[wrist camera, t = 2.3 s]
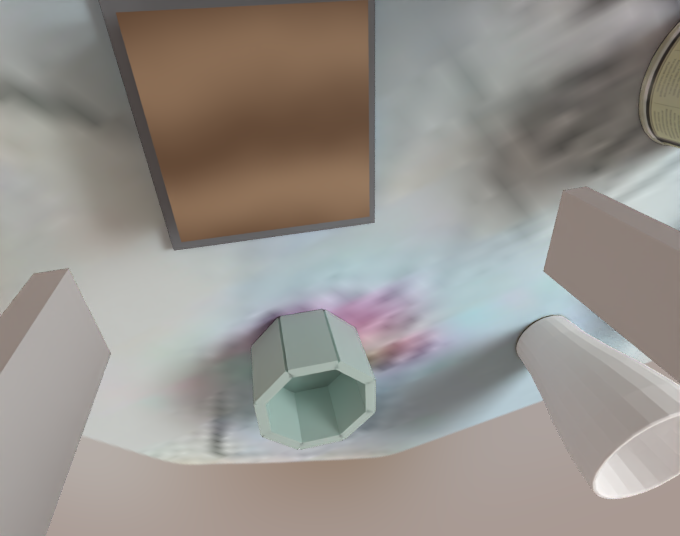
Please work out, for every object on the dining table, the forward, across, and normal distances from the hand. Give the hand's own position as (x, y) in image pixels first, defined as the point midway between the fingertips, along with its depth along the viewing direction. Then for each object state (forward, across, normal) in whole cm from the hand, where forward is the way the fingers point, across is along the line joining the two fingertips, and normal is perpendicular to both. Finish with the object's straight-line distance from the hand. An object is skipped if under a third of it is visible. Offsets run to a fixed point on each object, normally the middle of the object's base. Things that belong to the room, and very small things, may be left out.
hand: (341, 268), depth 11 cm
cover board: (+16, -1, +1) cm, 17 cm away
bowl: (+17, 0, -19) cm, 26 cm away
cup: (+17, +24, -24) cm, 38 cm away
